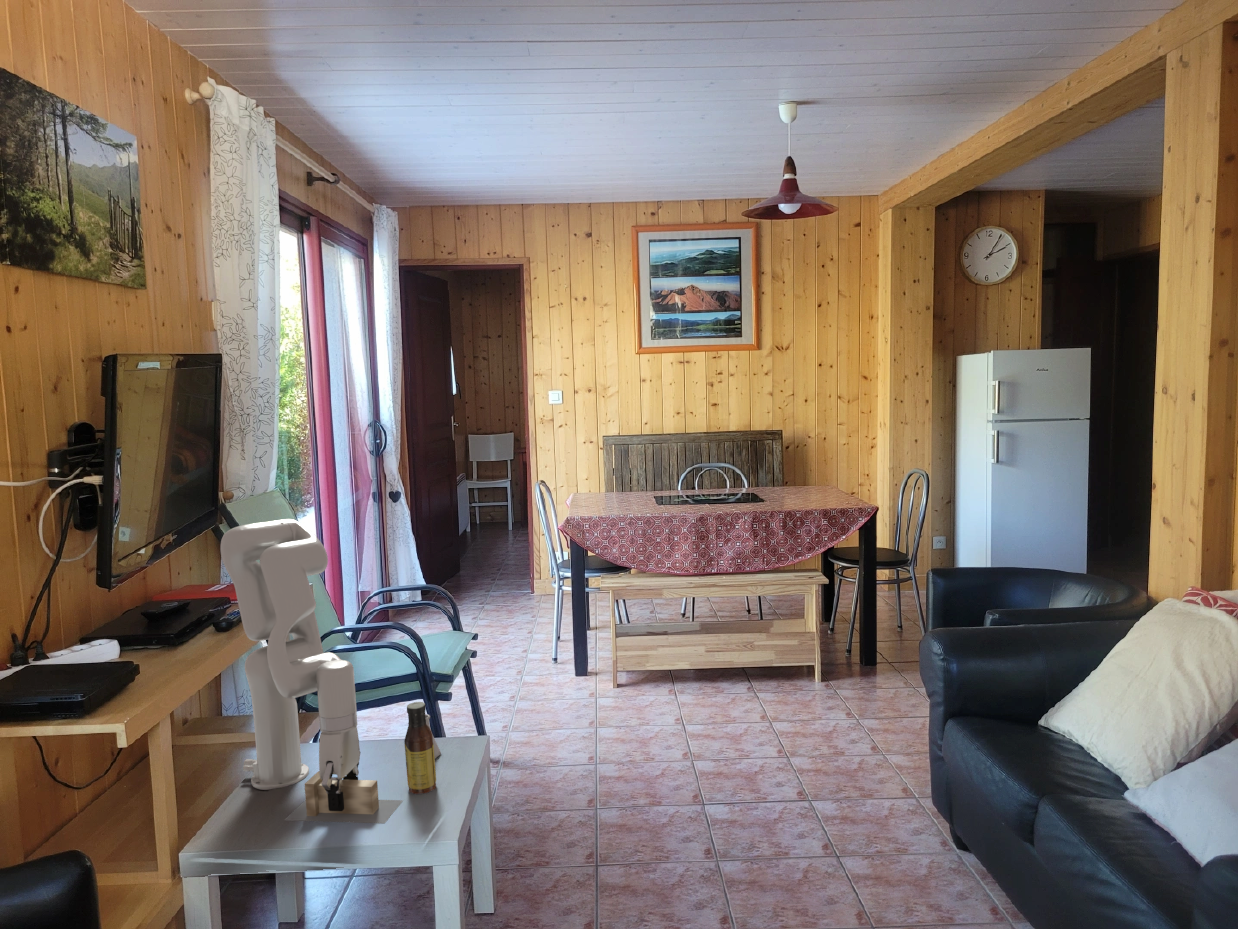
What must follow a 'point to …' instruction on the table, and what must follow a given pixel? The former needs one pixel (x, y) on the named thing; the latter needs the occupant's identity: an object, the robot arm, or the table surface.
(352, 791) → the beige t-shaped block
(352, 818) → the mat
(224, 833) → the table surface
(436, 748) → the flask
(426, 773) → the sauce bottle
